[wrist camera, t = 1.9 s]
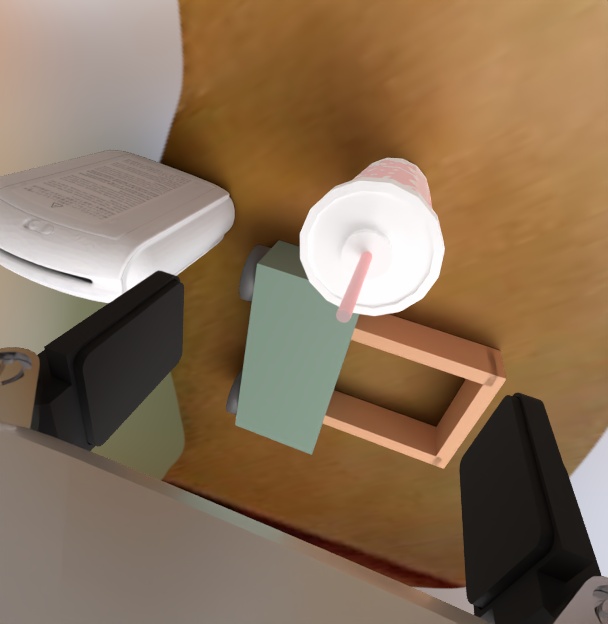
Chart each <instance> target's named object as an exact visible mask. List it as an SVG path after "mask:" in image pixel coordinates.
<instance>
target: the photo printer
mask: <svg viewBox="0 0 608 624" xmlns="http://www.w3.org/2000/svg"><path fill="white" fill-rule="evenodd" d="M229 195H230V194H229V193H228V192H227V191H226V190H224V189H222V188H221V187H219V186H217V185H215V184H213V183H210V182H208V181H206V180H203V179H201V178H198V177H196V176H193V175H190V174H188V173H185V172H183V171H180V170H177V169H174V168H172V167H169V166H167V165H164V164H161V163H158V162H156V161H153V160H150V159H147V158H145V157H141V156H138V155H135V154H132V153H128V152H124V151H118V150H107V151H103V152H99V153H95V154H91V155H87V156H83V157H79V158H75V159H70V160H67V161H62V162H58V163H54V164H50V165H46V166H42V167H38V168H33V169H29V170H25V171H21V172H17V173H12V174H8V175H4V176H0V265H2V266H4V267H5V268H7V269H9V270H11V271H13V272H15V273H17V274H19V275H21V276H23V277H25V278H27V279H29V280H32V281H34V282H37V283H39V284H42V285H44V286H47V287H50V288H52V289H56V290H58V291H61V292H64V293H67V294H71V295H74V296H78V297H82V298H86V299H90V300H95V301H99V302H106V303H110V302H112V301H113V300H114V299H116V298H117V297H119V296H120V295H122V294H123V293H125V292H126V291H128V290H129V289H131V288H132V287H134V286H135V285H137V284H138V283H140V282H141V281H143V280H144V279H146V278H147V277H149V276H150V275H152V274H153V273H154V272H156V271H158V270H159V271H163V272H166V273H169V274H172V275H175V276H176V275H178V274H179V273H180V272H182V271H183V270H184V269H186V268H187V267H188V266H190V265H191V264H192V263H193V262H195V261H196V260H197V259H199V258H200V257H201V256H203V255H204V254H205V253H207V252H208V251H209V250H210V249H212V248H213V247H214V246H216V245H217V244H218V243H219V242H220V241H221V240H222V239H223V238H224V234H225V233H226V232H227V231H229V230H230V228H231V227H232V225H233V223H234V219H235V209H234V205H233V202H232V199H231V198H230V197H229Z"/></svg>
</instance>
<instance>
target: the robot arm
mask: <svg viewBox="0 0 608 624" xmlns="http://www.w3.org/2000/svg"><path fill="white" fill-rule="evenodd" d="M183 306H184V285H183V284H182V283H180V280H179V277H177V276H175V275H172V274H169V273H166V272H163V271H159V270H158V271H156V272H154V273H153V274H152V275H150V276H149V277H147V278H146V279H144V280H143V281H141V282H140V283H138V284H137V285H135V286H134V287H132V288H131V289H129V290H128V291H126V292H125V293H123V294H122V295H120V296H119V297H117V298H116V299H114V300H113V301H112V302H110V303H109V304H107V305H106V306H104V307H103V308H101V309H100V310H98V311H97V312H95V313H94V314H92V315H91V316H89V317H88V318H86V319H85V320H83V321H82V322H81V323H79V324H77V325H76V326H74V327H73V328H72V329H70V330H69V331H67V332H66V333H64V334H63V335H61V336H60V337H58V338H57V339H55V340H54V341H52V342H51V343H50V344H48V345H46V346H45V347H44V348H45V350H44V351H42V352H41V353H39V354H38V355H36V354H35V353H34V352H32V351H30V350H28V349H24V348H17V347H7V348H1V349H0V624H608V578H607V577H604V576H601V573H600V570H599V567H598V564H597V560H596V557H595V554H594V551H593V548H592V545H591V542H590V539H589V537H588V533H587V530H586V527H585V524H584V521H583V518H582V515H581V512H580V509H579V506H578V503H577V500H576V497H575V494H574V491H573V488H572V485H571V482H570V479H569V476H568V473H567V470H566V468H565V466H564V464H563V461H562V458H561V455H560V452H559V449H558V446H557V443H556V440H555V437H554V434H553V431H552V428H551V425H550V422H549V419H548V416H547V413H546V410H545V407H544V404H543V402H542V401H541V400H539V399H536V398H533V397H530V396H527V395H524V394H521V393H515V394H514V395H513V396H510V395H507V396H505V397H504V399H503V400H502V401H501V403H500V404H499V406H498V407H497V409H496V410H495V411H494V413H493V414H492V416H491V417H490V419H489V420H488V421H487V423H486V424H485V426H484V427H483V429H482V430H481V431H480V433H479V434H478V436H477V437H476V439H475V440H474V441H473V443H472V444H471V446H470V447H469V448H468V450H467V451H466V453H465V454H464V456H463V457H462V460H461V463H460V486H461V504H462V521H463V539H464V557H465V574H466V592H467V599H468V601H469V602H470V603H471V604H473V605H474V615H472V614H470V613H468V612H466V611H463V610H461V609H459V608H457V607H455V606H452V605H450V604H448V603H446V602H443V601H441V600H439V599H437V598H434V597H432V596H430V595H428V594H425V593H423V592H421V591H419V590H416V589H414V588H412V587H410V586H407V585H405V584H403V583H400V582H398V581H396V580H393V579H391V578H389V577H386V576H384V575H382V574H379V573H377V572H375V571H372V570H370V569H368V568H365V567H363V566H361V565H358V564H356V563H354V562H351V561H349V560H347V559H344V558H342V557H340V556H337V555H335V554H333V553H330V552H328V551H326V550H324V549H321V548H319V547H317V546H314V545H312V544H309V543H307V542H305V541H302V540H300V539H298V538H295V537H293V536H291V535H288V534H286V533H284V532H281V531H279V530H277V529H274V528H272V527H270V526H267V525H265V524H262V523H260V522H258V521H255V520H253V519H251V518H248V517H246V516H244V515H241V514H239V513H236V512H234V511H232V510H229V509H227V508H225V507H222V506H220V505H218V504H215V503H213V502H210V501H208V500H206V499H203V498H201V497H199V496H196V495H194V494H192V493H189V492H187V491H184V490H182V489H180V488H177V487H175V486H172V485H170V484H168V483H165V482H163V481H160V480H158V479H156V478H153V477H151V476H148V475H146V474H144V473H141V472H139V471H136V470H134V469H131V468H129V467H127V466H124V465H122V464H120V463H117V462H115V461H112V460H110V459H108V458H105V457H103V456H100V455H98V454H95V453H93V452H90V451H91V450H92V449H93V448H94V447H95V446H101V445H103V444H104V443H105V442H106V440H108V438H109V437H110V436H111V435H112V434H113V433H114V432H115V431H116V429H118V428H119V426H120V425H121V424H122V423H123V422H124V421H125V420H126V419H127V418H128V417H129V416H130V415H131V413H132V412H133V411H134V410H135V409H136V408H137V407H138V406H139V405H140V404H141V403H142V402H143V400H144V399H145V398H146V397H147V396H148V395H149V394H150V393H151V392H152V391H153V390H154V389H155V387H156V386H157V385H158V384H159V383H160V382H161V381H162V380H163V379H164V378H165V377H166V375H167V374H168V373H169V372H170V371H171V370H172V369H173V368H174V367H175V366H176V365H177V363H178V362H179V360H180V358H181V356H182V344H183Z"/></svg>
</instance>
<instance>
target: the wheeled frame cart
mask: <svg viewBox="0 0 608 624" xmlns="http://www.w3.org/2000/svg"><path fill="white" fill-rule="evenodd" d="M239 294H240V298H241V299H243V300H246V301H249V302H252V305H251V313H250V320H249V327H248V335H247V342H246V349H245V357H244V364H243V369H242V370H241V371H240V372H239V374H238V375H237V377H236V379H235V381H234V383H233V385H232V388H231V390H230V393H229V396H228V400H227V405H226V410H227V412H230V413H233V414H235V415H237V416H236V423H235V425H237V426H239V427H242V428H244V429H247V430H249V431H252V432H255V433H257V434H260V435H262V436H265V437H267V438H270V439H273V440H275V441H278V442H280V443H283V444H285V445H288V446H291V447H293V448H296V449H298V450H301V451H303V452H306V453H309V454H311V455H312V452H313V450H314V447H315V444H316V441H317V438H318V435H319V432H320V429H321V426H322V423H323V424H326V425H329V426H331V427H334V428H337V429H339V430H342V431H345V432H347V433H350V434H353V435H355V436H358V437H361V438H363V439H366V440H369V441H371V442H374V443H377V444H379V445H382V446H385V447H387V448H390V449H393V450H395V451H398V452H401V453H403V454H406V455H408V456H411V457H414V458H416V459H419V460H422V461H424V462H427V463H430V464H432V465H435V466H438V467H440V468H443V469H444V468H445V466H446V465H447V463H448V462H449V460H450V459H451V458H452V456H453V455H454V453H455V452H456V450H457V449H458V448H459V446H460V445H461V443H462V442H463V440H464V439H465V438H466V436H467V435H468V433H469V432H470V430H471V429H472V428H473V426H474V425H475V423H476V422H477V420H478V419H479V418H480V416H481V415H482V413H483V412H484V410H485V409H486V408H487V406H488V405H489V403H490V402H491V400H492V399H493V398H494V396H495V395H496V393H497V392H498V390H499V389H500V387H501V386H502V385H503V383H504V382H505V380H506V375H505V370H504V365H503V361H502V356H501V351H499V350H496V349H493V348H490V347H487V346H484V345H481V344H478V343H475V342H472V341H469V340H466V339H463V338H460V337H457V336H454V335H451V334H448V333H445V332H441V331H438V330H435V329H432V328H429V327H426V326H423V325H420V324H417V323H414V322H411V321H408V320H405V319H402V318H399V317H396V316H393V315H390V314H384V315H378V316H370V315H364V314H358V313H352V316H351V318H350V320H349V321H348V322H346V323H343V322H340V321H338V319H337V318H336V313H337V311H338V309H339V307H338V306H337V305H335V304H333V303H331V302H329V301H327V300H326V299H325V298H324V297H323V296H322V295H321V294H320V293H319V292H318V290H317V289H316V288H315V287H314V286H313V285H312V284H311V283H310V282H309V279H308V277H307V275H306V272H305V270H304V267H303V265H302V262H301V260H300V247H299V246H296V245H293V244H289V243H286V242H283V241H280V240H279V241H278V242H277V243H276V244H275V245H274V246H273V247H272V248H269V247H266V246H263V245H256V246H255V247H254V248H253V250H252V251H251V253H250V254H249V256H248V258H247V260H246V263H245V265H244V268H243V271H242V275H241V279H240V286H239ZM351 340H354V341H357V342H360V343H363V344H366V345H369V346H372V347H375V348H378V349H380V350H383V351H386V352H389V353H392V354H395V355H398V356H401V357H404V358H407V359H410V360H413V361H416V362H419V363H422V364H424V365H427V366H430V367H433V368H436V369H439V370H442V371H445V372H448V373H451V374H454V375H457V376H460V377H463V378H465V379H466V380H465V381H464V383H463V384H462V386H461V388H460V389H459V391H458V393H457V394H456V396H455V398H454V399H453V401H452V402H451V404H450V406H449V407H448V409H447V411H446V412H445V414H444V415H443V417H442V419H441V420H440V422H439V424H438V425H437V427H435V426H432V425H429V424H426V423H424V422H421V421H418V420H415V419H413V418H410V417H407V416H404V415H402V414H399V413H396V412H393V411H391V410H388V409H385V408H382V407H380V406H377V405H374V404H371V403H368V402H366V401H363V400H360V399H357V398H355V397H352V396H349V395H346V394H344V393H341V392H338V391H335V390H334V388H335V385H336V382H337V379H338V376H339V373H340V370H341V367H342V364H343V361H344V358H345V355H346V352H347V349H348V347H349V344H350V341H351Z"/></svg>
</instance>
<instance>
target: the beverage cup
mask: <svg viewBox="0 0 608 624" xmlns="http://www.w3.org/2000/svg"><path fill="white" fill-rule="evenodd" d="M444 250H445V247H444V242H443V237H442V233H441V229H440V225H439V221H438V216H437V214H436V213H435V212H434V211H433V209H432V204H431V198H430V192H429V188H428V183H427V179H426V177H425V176H424V174H423V173H422V172H421V171H420V169H419V168H418V167H417V166H416V165H414V164H412V163H410V162H409V161H407V160H405V159H401V158H385V159H382V160H379V161H377V162H374V163H372V164H371V165H369V166H368V167H367V168H366V169H365V170H363V171H362V172H361V173H360V174H359V175H357V176H356V177H355V178H354V179H353V180H351V181H349V182H346V183H343V184H340V185H337V186H335V187H334V188H333V189H332V190H330V191H329V192H328V193H327V194H326V195H325V196H324V197H323V198H322V199H321V200H320V201H318V202H317V203H316V204H315V205H314V206H313V207H312V208H311V209H310V211H309V213H308V216H307V218H306V220H305V223H304V225H303V227H302V230H301V232H300V260H301V262H302V265H303V267H304V270H305V272H306V275H307V277H308V279H309V282H310V283H311V284H312V285H313V286H314V287H315V288H316V289H317V290H318V292H319V293H320V294H321V295H322V296H323V297H324V298H325V299H326V300H327V301H329V302H331V303H333V304H335V305H337V306H338V307H339V309H338V311H337V313H336V318H337V319H338V321H340V322H343V323H346V322H348V321H349V320H350V318H351V316H352V313H358V314H364V315H370V316H378V315H384V314H390V313H395V312H400V311H402V310H404V309H405V308H407V307H409V306H410V305H412V304H414V303H415V302H417V301H419V300H421V299H422V298H423V297H424V296H425V295H426V293H427V292H428V291H429V289H430V288H431V287H432V285H433V284H434V282H435V281H436V280H437V278H438V277H439V274H440V269H441V264H442V260H443V255H444Z"/></svg>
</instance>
